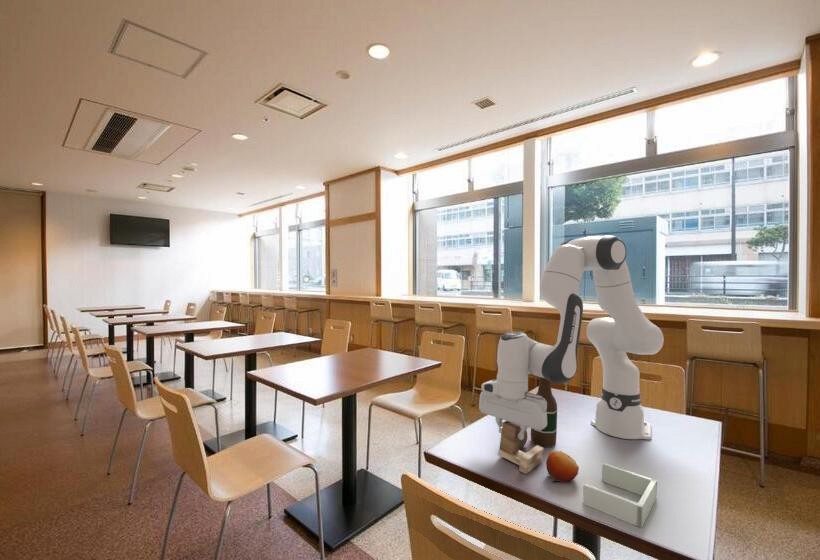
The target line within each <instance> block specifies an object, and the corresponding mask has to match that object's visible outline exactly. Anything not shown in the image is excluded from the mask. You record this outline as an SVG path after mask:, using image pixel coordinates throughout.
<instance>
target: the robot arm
mask: <svg viewBox="0 0 820 560" xmlns="http://www.w3.org/2000/svg"><path fill="white" fill-rule="evenodd" d="M626 256H627V247H626V244H625V242H624V241H623V240H622V239H621V238H620V237H618V236H615V235H610V234H609V235H590V236H586V237H585V236H584V237H579V238H571V239H567V240H566V241H563V242H561V244H559V246H557V247H556V248H555V249H554V251H553V252H552V254H551V256H550V258H549V260H548V262H547V264H546V266H545V269H544V271H543V275H542V277H541V280H540V283H539V292H540V296H541V297H542V299H543V300H544V301H545V302H546V303H547V304H549V305H550V306H552V307H554V308H555V309H556V310H557V312H558V313H559V316H560V320H559V328H558V333H557V340H556V343H555V344H554V345H550V344H546V343H542V342H538V341H536V340H534V339H532V338H530V337H528V335H527V334H526V333H525V332H521V331H509V332H506V333H504V334H501V336H500V338H499V340H498V344H497V352H496V353H497V356H496V358H497V359H496V363H497V368H498V370H497V374H496V379H491V380H488V381H485V382H483V383H482V384H481V385H480V386H481V390H482V391H481V392H480V395H479V401H478V404H479V405H478V408H479V411H480V412H481V414H485V415H487V416H491V417H494V418H495V423H496V424H497V426H498V433H500V434H501V432H502V424H503V422H504V421H510V422H513V423H516V424H520V428H521V429H522V430H521V431H519V432H517V433H516V435H517V436H516V438H517V439H520V440H522V439H524V432H525V431H526V430H528V429H529V428H530V429H531V428H533V429H536V430H539V431H540V430H542V429H544V428H545V427H546V426H547V413H546V410H547V401H546V400H545V399H544V398H543V397H542V396H541V395H536V394H537V393H533V392H529V375H534V376H536V377H539V378H540V377H542V378H545V379H546V380H548V381H551V383H553V384H555V385H559V386H560V385H564V384H566V383H568V382H570V381H571V380H572V379H573V378H574V377H575V376H576V373H577V372H578V349H579V344H580V343H579V342H580V336H581V335H580V334H581V330H582V328H581V326H582V323H583V315H584V313H583V312H584V304H583V303H584V302H583V300H582V298H581V297H580V296H579V292H580V291H579V290H580V284H581V281H582V278H583V274H584V272H585V271H587V272H588V271H589V272H592V277H593V282H594V287H595V288H594V289H595V292H596V294H595V295H596V298H597V303H598V306H599V307H600V309H602V310H603V311H604V312H605V313H606V314H608V315H609V316H608V317H597V318H592V319H591V320H590V321H589V322H588V324H587V326H586V337H587V339H588V341H589V342H590V343H591V344H592V345H593V347H595V348H596V349H595V350H596V351H597V353H598V356H599V358H600V360H601V365H602V376H603V377H602V380H603V381H602V384H603V385H602V386H603V387H601V390H600V397H601V399H600V400H599V401H597V402H596V410H595V418H594V419H591V420H590V425H592V426H594V427H596V429H597V430H599V431H600V432H601V433H603V434H606V435H609V436H612V437H615V438H618V439H625V440H651V439H652V424H651V422H648V421H647V420H645V410H644V408H643V406H642V404H641V403H642V395H641V390H640V384H641V383H640V376H641V374H640V373H641V372H640V370H639V368H638V367H637V366H636V364H634V363H633V362H632V361H631V360H630V358H629V357H628V355H627V354H628V353H630V354H634V355H645V356H646V355H648V356H649V355H652V356H653V355H655V354H657V353H659V352H660V351H661V349H662V348H663V346H664V342H665V338H664V334H663V332H662V329H661V328H660V327H659V326H657V325H656V324H654V323H653V322H651V321H650V319H648V318H647V316H646V315H645V314H644V313H643V312H642V309H640V306H639V304H638V303H637V299H636V297H635V293H634V288H633V284H632V279H631V274H630V270H629V266H628V264H627V261H626V258H627V257H626ZM542 399H543V400H542ZM503 420H504V421H503Z"/></svg>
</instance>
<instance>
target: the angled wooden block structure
mask: <svg viewBox="0 0 820 560" xmlns="http://www.w3.org/2000/svg"><path fill="white" fill-rule="evenodd" d="M502 422H503V424H502V432H501V433H500V441H499V442H500V443H499V448H498V452H497V455H498V456H500V457H502V458H503V459H506V460H508V461H510V462H512V463H514V464H516V465H518V466H519V469H518V471H519V472H521V473H522V474H525V475H526V474H528V473H529V472H530V471H532V470H533V469H534V468H536V467H537V466H538V465H539V464H541V463H542V462H543V458H544V457H543V456H544V448H545V447H542V446H539V445H535V446H533V447H532V448H531V449H529V450H528V451H526V452H525V451H522V450H520V449H519V443H520V439H517V438H516V436H517V435H516V433H517V432H519V431H521V428H520V424H516V423H513V422H510V421H507V420H504V421H502Z"/></svg>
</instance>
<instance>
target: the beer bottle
mask: <svg viewBox="0 0 820 560" xmlns="http://www.w3.org/2000/svg"><path fill="white" fill-rule="evenodd" d="M535 394H536V395H541V396H542V397H543V398H544V399H545V400H546V401H547V410H546V413H547V426H546V427H545V428H544V429H542V430H540V431H539V430H536V429H533V428H530V440H531V441H532V443H533V442H534V443H533V444H534V445H536V444H537V445H538V446H539V445H540V447H542V446H543V448H553V445H554V446H555V445H556V444H557V434H558V433H557V432H558V431H557V428H558V403H557V400H556V398H555V397H554V395H553V392H552V382H551V381H548V380H546V379H545V378H542V377H539V381H538V388H537V392H536V393H535ZM542 400H543V399H542ZM537 445H536V446H537Z"/></svg>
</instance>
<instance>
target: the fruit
mask: <svg viewBox="0 0 820 560" xmlns="http://www.w3.org/2000/svg"><path fill="white" fill-rule="evenodd" d="M545 466H546V470H547V471H546V472H547V475H550V477H551V480H552V482H551V484H553V483H554V482H555V481H557V482H560V483H563V484H565V483H571V482H573V481H574V480H575V479H576V477H577V475H578V474H579V469H580V467H579V464H577V462H576V460H575V459H574V458H573V457H572V456H570V455H569V454H567V453H566V452H563V450H562V451H561V450H552V451H550V452H549V453H548V455H547V458H546V462H545Z"/></svg>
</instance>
